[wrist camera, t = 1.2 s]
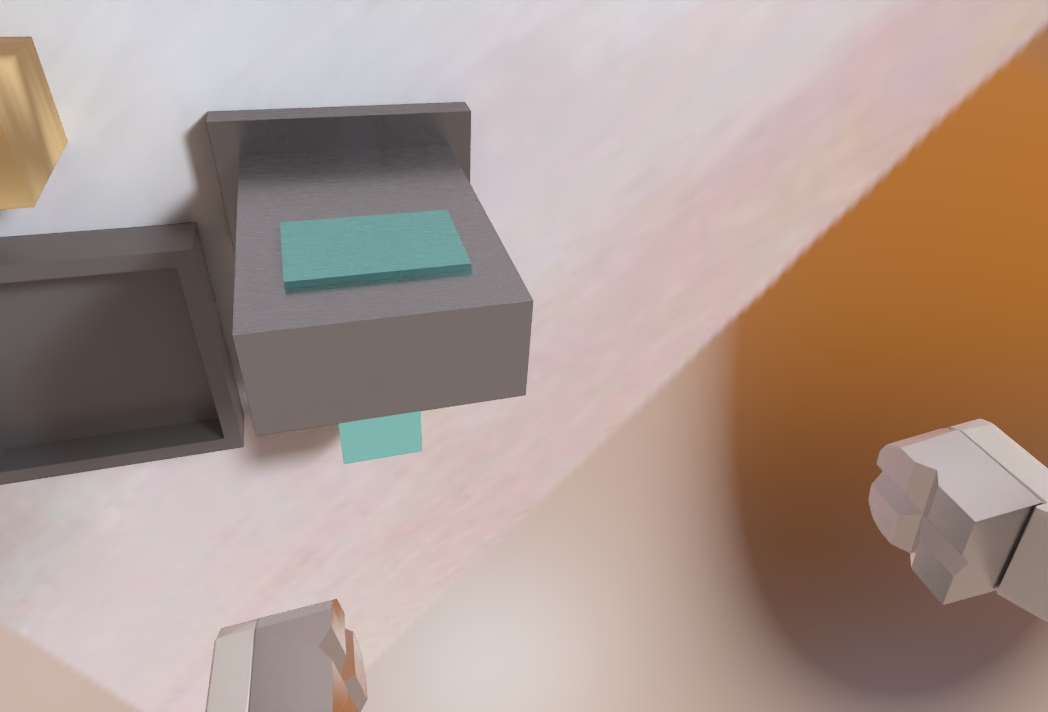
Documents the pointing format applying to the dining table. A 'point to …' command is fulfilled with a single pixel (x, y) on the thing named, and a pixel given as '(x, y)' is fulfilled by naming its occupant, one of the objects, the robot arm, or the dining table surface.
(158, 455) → the black tray
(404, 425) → the teal block
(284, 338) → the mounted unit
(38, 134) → the ochre block
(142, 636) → the dining table surface
